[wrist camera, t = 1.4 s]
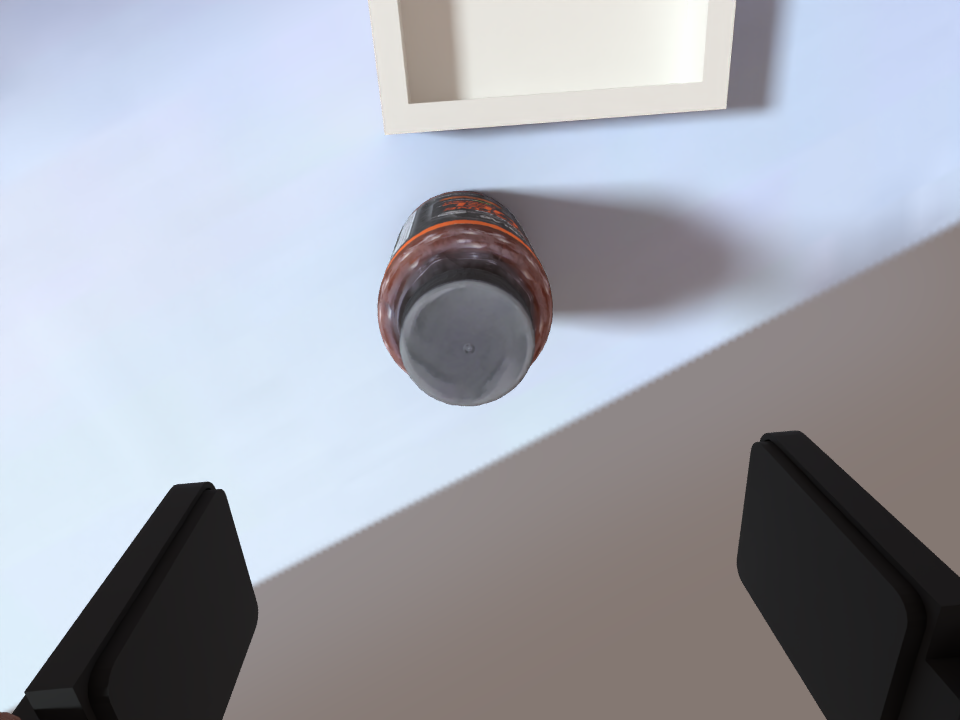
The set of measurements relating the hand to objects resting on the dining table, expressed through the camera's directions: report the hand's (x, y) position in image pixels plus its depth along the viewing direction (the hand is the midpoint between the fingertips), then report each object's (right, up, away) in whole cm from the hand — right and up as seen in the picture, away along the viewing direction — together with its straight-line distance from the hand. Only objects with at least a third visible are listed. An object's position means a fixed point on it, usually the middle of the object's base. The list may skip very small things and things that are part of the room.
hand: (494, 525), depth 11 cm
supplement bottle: (-1, +8, +17) cm, 19 cm away
